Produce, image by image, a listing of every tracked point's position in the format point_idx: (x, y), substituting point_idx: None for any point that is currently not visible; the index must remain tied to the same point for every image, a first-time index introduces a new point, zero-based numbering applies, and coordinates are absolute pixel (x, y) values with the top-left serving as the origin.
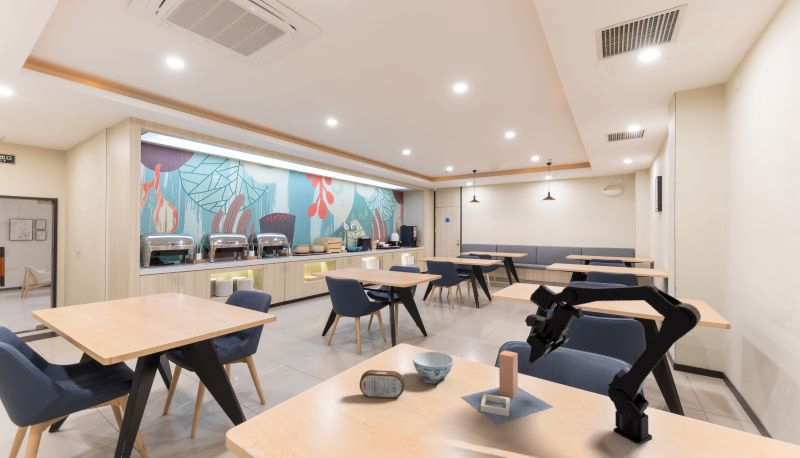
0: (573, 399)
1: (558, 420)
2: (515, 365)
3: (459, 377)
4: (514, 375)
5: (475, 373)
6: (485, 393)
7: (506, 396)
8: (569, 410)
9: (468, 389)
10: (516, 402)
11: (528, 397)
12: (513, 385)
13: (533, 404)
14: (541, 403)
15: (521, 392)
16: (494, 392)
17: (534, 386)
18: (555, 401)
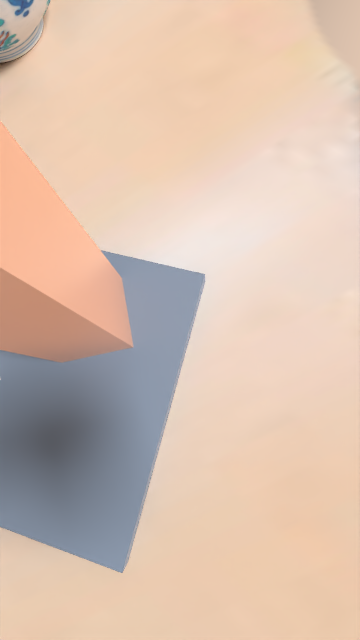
0: (352, 595)
1: (53, 625)
2: (3, 320)
3: (104, 74)
4: (21, 341)
5: (199, 84)
6: None
7: None
8: (199, 630)
9: None
10: (28, 400)
11: (122, 416)
12: (35, 354)
13: (67, 475)
14: (109, 502)
15: (148, 360)
16: None
17: (315, 350)
18: (238, 522)
